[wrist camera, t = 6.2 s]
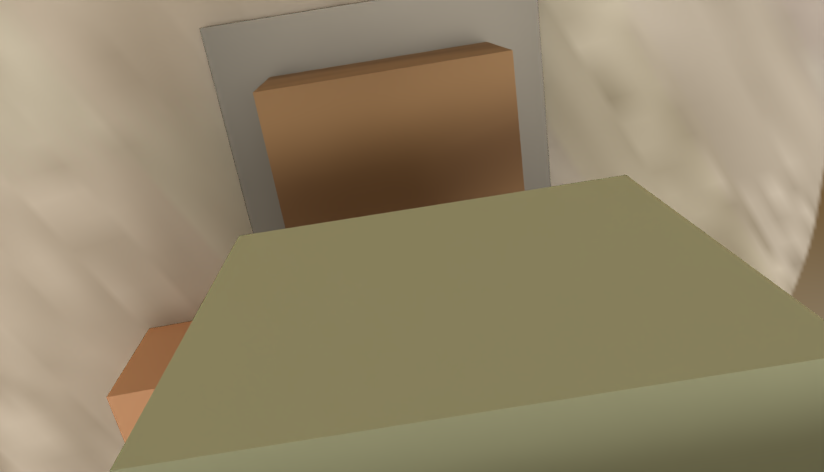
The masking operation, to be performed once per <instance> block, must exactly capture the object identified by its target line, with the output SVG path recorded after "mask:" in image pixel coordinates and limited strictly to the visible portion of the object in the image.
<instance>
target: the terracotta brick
mask: <svg viewBox="0 0 824 472" xmlns="http://www.w3.org/2000/svg"><path fill="white" fill-rule="evenodd" d="M191 322H192V321H189V322H183V323H178V324H172V325H166V326H161V327H155V328H150V329H149V330H148V331H147V333H146V335H145V336H144V338H143V339H142V341H141V343H140V344H139V346H138V347H137V349H136V351H135V352H134V354H133V356H132V357H131V359H130V360H129V362H128V364H127V365H126V367H125V368H124V370H123V372H122V373H121V375H120V377H119V378H118V380H117V381H116V383H115V385H114V386H113V388H112V389H111V391H110V393H109V394H108V396H107V399H108V402H109V404H110V407H111V409H112V412H113V414H114V417H115V419H116V422H117V424H118V427H119V429H120V432H121V434H122V437H123V439H124V442H126V441H127V439H128V437H129V435H130V433H131V431H132V430H133V428H134V426H135V424H136V422H137V421H138V419H139V417H140V415H141V413H142V411H143V410H144V408H145V406H146V404H147V402H148V401H149V399H150V397H151V395H152V393H153V391H154V390H155V388H156V386H157V384H158V382H159V381H160V379H161V377H162V375H163V373H164V371H165V370H166V368H167V366H168V364H169V362H170V361H171V359H172V357H173V355H174V353H175V351H176V350H177V348H178V346H179V344H180V342H181V341H182V339H183V337H184V335H185V333H186V331H187V330H188V328H189V326H190V324H191Z"/></svg>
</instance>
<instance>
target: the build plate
mask: <svg viewBox="0 0 824 472" xmlns="http://www.w3.org/2000/svg"><path fill="white" fill-rule="evenodd" d="M200 32H201V36H202V40H203V44H204V47H205V51H206V55H207V59H208V63H209V67H210V70H211V74H212V78H213V82H214V86H215V89H216V93H217V97H218V101H219V105H220V109H221V112H222V116H223V120H224V124H225V128H226V132H227V135H228V139H229V143H230V147H231V151H232V154H233V158H234V162H235V166H236V170H237V174H238V177H239V181H240V185H241V189H242V193H243V197H244V200H245V204H246V208H247V212H248V216H249V219H250V223H251V227H252V231H253V234H254V233H261V232H267V231H273V230H280V229H285V225H284V221H283V216H282V212H281V208H280V204H279V200H278V196H277V191H276V187H275V183H274V179H273V175H272V171H271V166H270V162H269V158H268V154H267V150H266V146H265V142H264V137H263V133H262V129H261V125H260V121H259V117H258V112H257V108H256V104H255V100H254V96H253V92H254V91H255V90H256V89H257V88H258V87H259V86H261V85H262V84H263V83H264V82H265V81H266V80H267V79H268V78H269V77H273V76H280V75H286V74H292V73H298V72H304V71H310V70H316V69H323V68H329V67H335V66H341V65H347V64H353V63H359V62H366V61H372V60H378V59H384V58H390V57H396V56H402V55H409V54H415V53H421V52H427V51H433V50H439V49H445V48H451V47H458V46H464V45H470V44H476V43H482V42H489V43H492V44H495V45H498V46H501V47H504V48H507V49H511V50H513V60H514V72H515V83H516V95H517V107H518V119H519V130H520V142H521V154H522V166H523V177H524V189H525V191H527V190H533V189H540V188H546V187H551V184H550V169H549V155H548V140H547V126H546V111H545V96H544V82H543V67H542V53H541V38H540V24H539V9H538V0H373V1H366V2H360V3H354V4H348V5H342V6H335V7H329V8H323V9H317V10H310V11H304V12H298V13H292V14H285V15H279V16H273V17H267V18H260V19H254V20H248V21H242V22H235V23H229V24H223V25H217V26H210V27H204V28H200Z"/></svg>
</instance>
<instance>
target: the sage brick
mask: <svg viewBox="0 0 824 472" xmlns="http://www.w3.org/2000/svg"><path fill="white" fill-rule="evenodd" d="M110 472H824V320H823V319H822V318H821V317H819V316H818V315H817V314H815V313H814V312H813V311H811V310H810V309H808V308H807V307H806V306H804V305H803V304H802V303H800V302H799V301H798V300H796V299H795V298H793V297H792V296H791V295H789V294H788V293H787V292H785V291H784V290H783V289H781V288H780V287H778V286H777V285H776V284H774V283H773V282H772V281H770V280H769V279H767V278H766V277H765V276H763V275H762V274H761V273H759V272H758V271H757V270H755V269H754V268H752V267H751V266H750V265H748V264H747V263H746V262H744V261H743V260H742V259H740V258H739V257H737V256H736V255H735V254H733V253H732V252H731V251H729V250H728V249H726V248H725V247H724V246H722V245H721V244H720V243H718V242H717V241H716V240H714V239H713V238H711V237H710V236H709V235H707V234H706V233H705V232H703V231H702V230H701V229H699V228H698V227H696V226H695V225H694V224H692V223H691V222H690V221H688V220H687V219H686V218H684V217H683V216H681V215H680V214H679V213H677V212H676V211H675V210H673V209H672V208H670V207H669V206H668V205H666V204H665V203H664V202H662V201H661V200H660V199H658V198H657V197H655V196H654V195H653V194H651V193H650V192H649V191H647V190H646V189H645V188H643V187H642V186H640V185H639V184H638V183H636V182H635V181H634V180H632V179H631V178H630V177H628V176H627V175H622V176H616V177H609V178H603V179H597V180H590V181H584V182H578V183H571V184H565V185H559V186H552V187H546V188H540V189H533V190H527V191H521V192H514V193H508V194H502V195H495V196H489V197H483V198H476V199H470V200H464V201H457V202H451V203H445V204H438V205H432V206H426V207H419V208H413V209H406V210H400V211H394V212H387V213H381V214H375V215H368V216H362V217H356V218H349V219H343V220H337V221H330V222H324V223H318V224H311V225H305V226H299V227H292V228H286V229H280V230H273V231H267V232H261V233H254V234H248V235H242V236H239V237H238V239H237V241H236V242H235V244H234V246H233V248H232V250H231V251H230V253H229V255H228V257H227V259H226V261H225V262H224V264H223V266H222V268H221V270H220V271H219V273H218V275H217V277H216V279H215V281H214V282H213V284H212V286H211V288H210V290H209V291H208V293H207V295H206V297H205V299H204V301H203V302H202V304H201V306H200V308H199V310H198V311H197V313H196V315H195V317H194V319H193V321H192V322H191V324H190V326H189V328H188V330H187V331H186V333H185V335H184V337H183V339H182V341H181V342H180V344H179V346H178V348H177V350H176V351H175V353H174V355H173V357H172V359H171V361H170V362H169V364H168V366H167V368H166V370H165V371H164V373H163V375H162V377H161V379H160V381H159V382H158V384H157V386H156V388H155V390H154V391H153V393H152V395H151V397H150V399H149V401H148V402H147V404H146V406H145V408H144V410H143V411H142V413H141V415H140V417H139V419H138V421H137V422H136V424H135V426H134V428H133V430H132V431H131V433H130V435H129V437H128V439H127V441H126V442H125V444H124V446H123V448H122V450H121V451H120V453H119V455H118V457H117V459H116V461H115V462H114V464H113V466H112V468H111V470H110Z"/></svg>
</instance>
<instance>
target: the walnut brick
mask: <svg viewBox="0 0 824 472" xmlns="http://www.w3.org/2000/svg"><path fill="white" fill-rule="evenodd" d="M253 96H254V100H255V104H256V108H257V112H258V117H259V121H260V125H261V129H262V133H263V137H264V142H265V146H266V150H267V154H268V158H269V162H270V166H271V171H272V175H273V179H274V183H275V187H276V191H277V196H278V200H279V204H280V208H281V212H282V216H283V221H284V225H285V229H286V228H292V227H299V226H305V225H311V224H318V223H324V222H330V221H337V220H343V219H349V218H356V217H362V216H368V215H375V214H381V213H387V212H394V211H400V210H406V209H413V208H419V207H426V206H432V205H438V204H445V203H451V202H457V201H464V200H470V199H476V198H483V197H489V196H495V195H502V194H508V193H514V192H521V191H525V189H524V177H523V166H522V154H521V142H520V130H519V119H518V107H517V95H516V83H515V72H514V60H513V50H511V49H507V48H504V47H501V46H498V45H495V44H492V43H489V42H482V43H476V44H470V45H464V46H458V47H451V48H445V49H439V50H433V51H427V52H421V53H415V54H409V55H402V56H396V57H390V58H384V59H378V60H372V61H366V62H359V63H353V64H347V65H341V66H335V67H329V68H323V69H316V70H310V71H304V72H298V73H292V74H286V75H280V76H273V77H269V78H268V79H267V80H266V81H265V82H264V83H263V84H262V85H261V86H259V87H258V88H257V89H256V90H255V91H254V92H253Z"/></svg>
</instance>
